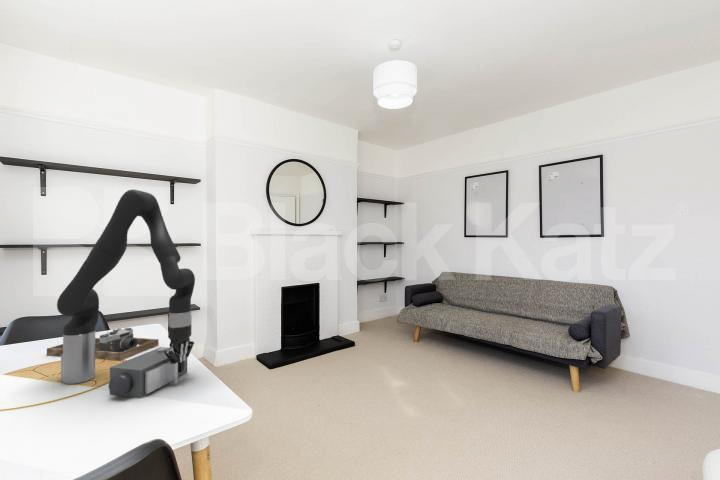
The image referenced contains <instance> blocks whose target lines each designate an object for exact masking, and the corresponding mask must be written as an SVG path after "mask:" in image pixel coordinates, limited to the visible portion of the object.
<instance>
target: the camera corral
mask: <svg viewBox="0 0 720 480" xmlns="http://www.w3.org/2000/svg"><path fill="white" fill-rule="evenodd" d="M134 338H135V339H136V340H137V342H138V343H137V346H136V347H134V348H131V349H129V350H123V351H120V352H108V351H99V349H96V350H95V359H98V360H99V359H100V360H111V361H112V360H113V361H123V360H125V359H128V358H130V357H133V356H136V355H138V354H141V353H144V352H147V351H148V350H151V349H153V348H156V347H158V346H159V340H160V339H158V338H146V337H145V338H143V337H134ZM159 347H160V346H159Z"/></svg>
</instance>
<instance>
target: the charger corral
mask: <svg viewBox="0 0 720 480" xmlns="http://www.w3.org/2000/svg"><path fill="white" fill-rule="evenodd" d="M96 349H99V337H95V350H96ZM62 354H63V343H61V344H58V345H55V346H51V347H48V348H46V356H49V357H50V356H51V357H58V358H61V355H62Z"/></svg>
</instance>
